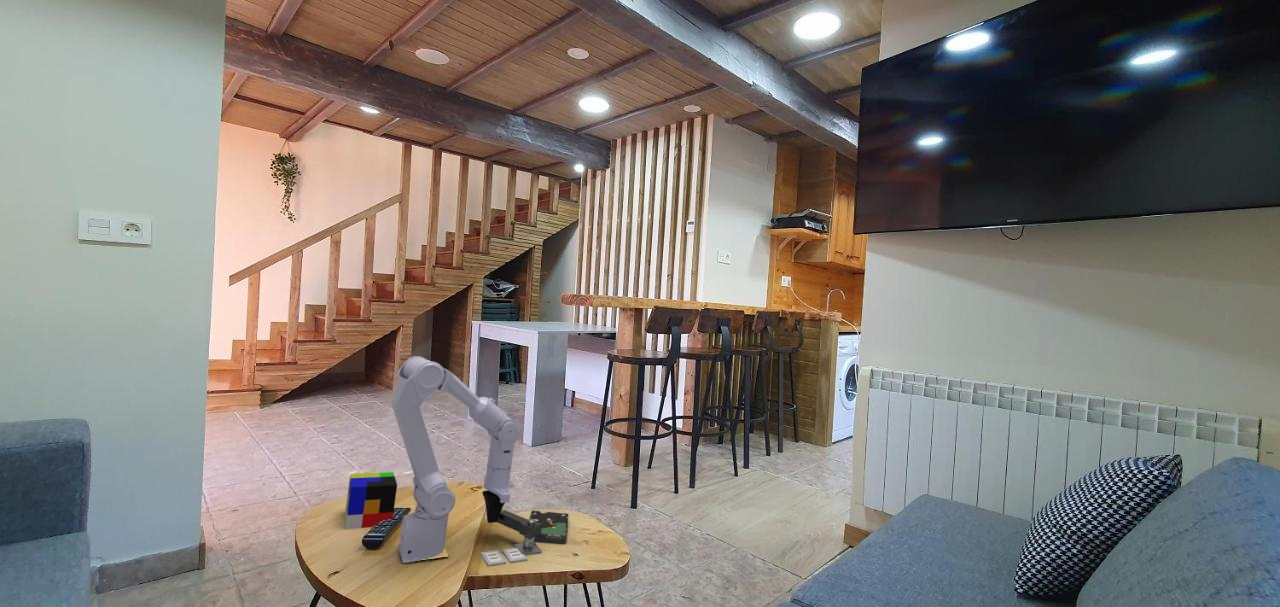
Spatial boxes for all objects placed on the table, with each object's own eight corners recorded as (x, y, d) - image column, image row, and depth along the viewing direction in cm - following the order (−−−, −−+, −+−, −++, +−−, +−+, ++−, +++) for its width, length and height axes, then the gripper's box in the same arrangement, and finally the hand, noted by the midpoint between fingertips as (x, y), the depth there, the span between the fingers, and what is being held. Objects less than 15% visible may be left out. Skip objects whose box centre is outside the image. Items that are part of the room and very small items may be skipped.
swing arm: (540, 534, 126) (542, 523, 126) (530, 538, 123) (531, 527, 123) (502, 517, 133) (503, 507, 133) (491, 521, 130) (492, 511, 130)
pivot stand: (521, 555, 122) (525, 525, 122) (514, 546, 126) (518, 517, 126) (541, 553, 125) (545, 523, 125) (534, 543, 129) (537, 515, 129)
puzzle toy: (345, 529, 124) (351, 487, 125) (344, 513, 133) (350, 473, 133) (391, 525, 129) (397, 485, 130) (388, 510, 138) (393, 472, 138)
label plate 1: (488, 566, 115) (488, 563, 115) (480, 554, 120) (480, 551, 120) (505, 563, 117) (506, 561, 117) (497, 551, 122) (498, 549, 122)
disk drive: (529, 520, 144) (524, 543, 129) (530, 510, 144) (525, 531, 130) (567, 523, 145) (566, 546, 131) (568, 513, 145) (567, 535, 131)
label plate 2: (510, 563, 118) (510, 560, 118) (501, 551, 123) (502, 548, 123) (527, 560, 120) (527, 558, 120) (518, 549, 125) (518, 546, 125)
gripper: (525, 474, 124) (517, 532, 124) (505, 456, 137) (499, 509, 136) (495, 476, 121) (488, 535, 120) (478, 457, 133) (471, 511, 133)
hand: (492, 521), depth 128 cm, fingers closed
